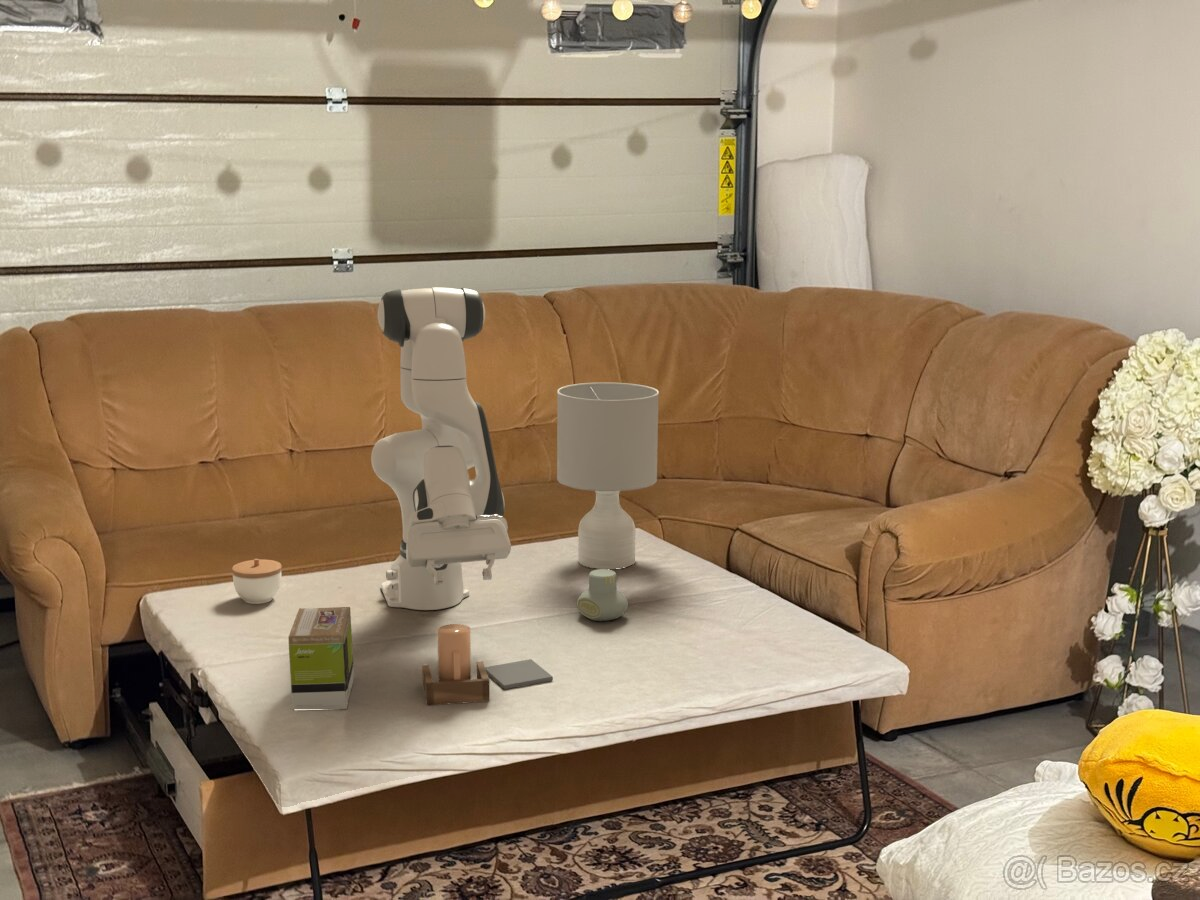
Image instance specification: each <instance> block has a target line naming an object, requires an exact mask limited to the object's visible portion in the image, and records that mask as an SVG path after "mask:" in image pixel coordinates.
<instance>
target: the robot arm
mask: <svg viewBox="0 0 1200 900" xmlns="http://www.w3.org/2000/svg"><path fill="white" fill-rule="evenodd" d="M485 320H486V307H485V304H484V302H483V299H482V296H481V295H480V294H479V293H478V291H477V290H474V289H470V288H467V287H466V288H464V287H461V288H460V289H459V288H455V287H454V288H453V287H442V286H441V287H440V286H438V287H435V286H431V287H426V288H424V287H422V288H412V289H411V288H410V289H405V290H404V289H403V290H401V289H399V288H398V289H395V290H394V289H393V290H389V291H387V292H385V293H384V294H383V295H382V296H381V299H380V302H379V305H378V307H377V322H378V325H379V328H380V329H381V333H382V334H383V335H384V336H385V337H386V338H387V339H388V340H390V341H391V342H394V343H398V345H399V347H400V360H399V361H400V365H399V366H400V367H399V368H400V370H399V371H400V398H401V402H402V403H403V405H404V406H405V407H406V408H407V409H408V410H409V411H411V412H413V413H415V414H418V415H419V417H420V419H421V424H422V425H421V428H420V429H414V430H409V431H408V430H407V431H402V432H401V431H400V432H396V433H393V434H391V435H388V436H385V437H383V438H379V440H377V441H376V442H375V443H374V445H373V448H372V451H371V457H370V461H371V463H370V464H371V467H372V470H373V471H374V474H375V475H376V477H377V478H378V479H380V480H381V481H382V482H383V483H385V484H386V485H387V486H388V487H390V488H391V489H392V490H393V492H394V494H395V495H396V497H397V499H398V503H399V505H400V506H399V507H400V509H401V520H402V521H401V522H402V537H401V541H400V542H401V543H400V545H399V546H400V547H399V549H400V550H399V556H398V557H397V558H396V559H395V560H394V561H393V562H392V563H391V566H390V569H387V570H385V579H386V580H385V581H383V582H382V583H381V585H380V589H381V591H382V593H383V596H384V599H385V601H386V603H387V606H389V607H391V608H404V609H409V610H417V611H434V610H436V611H437V610H442V609H447V608H451V607H454V606H456V605H458V604H459V603H461V602H462V600H463V599H464V598H467V597H469V596H470V590H469V589H467V588H464V578H463V576H464V575H463V567H462V565H463V564H462V563H471V562H483V561H485V562H486V565H487V568H486V567H485V568H483V569H482V577H483V581H489V580H492V578H493V577H492V576H493V575H492V569H493V567H494V565H495V561H496V560H505V559H508V556H509V555H510V553H511V550H512V545H511V540H510V537H509V534H508V530H509V526H508V521H507V519H506V518H505V517H503V516H504V515H505V506H506V505H505V498H504V494H503V491H502V488H501V484H500V480H499V476H498V471H497V467H496V461H495V456H494V449H493V445H492V440H491V434H490V429H489V425H488V420H487V417H486V414H485V412H484V411H485V410H484V409H483V407H482V405H481V403H480V402H478V401H476V400H474V399H473V397H472V395H471V393H470V391H469V388H468V383H467V366H466V365H467V364H466V356H465V349H464V344H463V342H464V341H465V340H469V339H471V338H475V337H477V335H479V334H480V333H481V332H482V330H483V327H484V323H485ZM471 468H474V470H475V477H474V478H473V479H470V475H469V470H470V469H471Z"/></svg>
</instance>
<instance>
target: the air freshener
mask: <svg viewBox="0 0 1200 900" xmlns="http://www.w3.org/2000/svg"><path fill="white" fill-rule="evenodd" d="M576 604H577V605H576V607H577V609H578V611H579V613H580V614H581V615H583V616H585V617H586V618H588V619H589V620H590V621H592V622H593V621H595V622H605V621H606V622H607V621H612V620H615V619H617V618H621V616H622V615H624V614H625V613H626V611H627V609H628V606H629V603H628V599H627V597H626V596H625V594H623V592H621V591H620V590H617V573H616V572H615V570H608V569H594V570H591V571H590V572H589V573H588V589H587V590H585V591H583V592H582V593H581V594H580V595H579V596H578V598H577V601H576Z"/></svg>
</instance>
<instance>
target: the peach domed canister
mask: <svg viewBox="0 0 1200 900" xmlns="http://www.w3.org/2000/svg"><path fill="white" fill-rule="evenodd" d="M471 654H472V653H471V628H470V626H468V625H465V624H461V623H451V624H449V623H448V624H444V625H441V626H440V627H438V628H437V665H438V667H437V671H438V674H437V675H438V682H444V681H458V680H472V667H471V666H472V663H471V661H472V660H471V658H472V657H471V656H472V655H471Z"/></svg>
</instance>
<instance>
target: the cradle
mask: <svg viewBox="0 0 1200 900" xmlns="http://www.w3.org/2000/svg"><path fill="white" fill-rule="evenodd" d="M475 663H476V665H475V666H476V679H475V678H474V679H471V680H458V681H444V682H439V681H433V677H432V673H431V668H430V666H429V664H425V665H424V664H423V665H421V668H422V669H421V673H422V678H421V679H422V680H421V681H422V688H423V693H424V694H423V695H424V697H425V701H426V702H427V703H426V702H425V703H426V706H427V705H428V706H439V705H438V704H441V705H449V704H448V703H455V704H464V703H463V702H468V703H475V702H474V701H482V702H489V701H488V700H490V699H491V698H490V696H491V695H490V693H491V692H490V677H489V675H488V674H487V672H486V669H485V667H486V666H485V664H484V661H483V660H482V661H481V660H480V661H476V662H475Z"/></svg>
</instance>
